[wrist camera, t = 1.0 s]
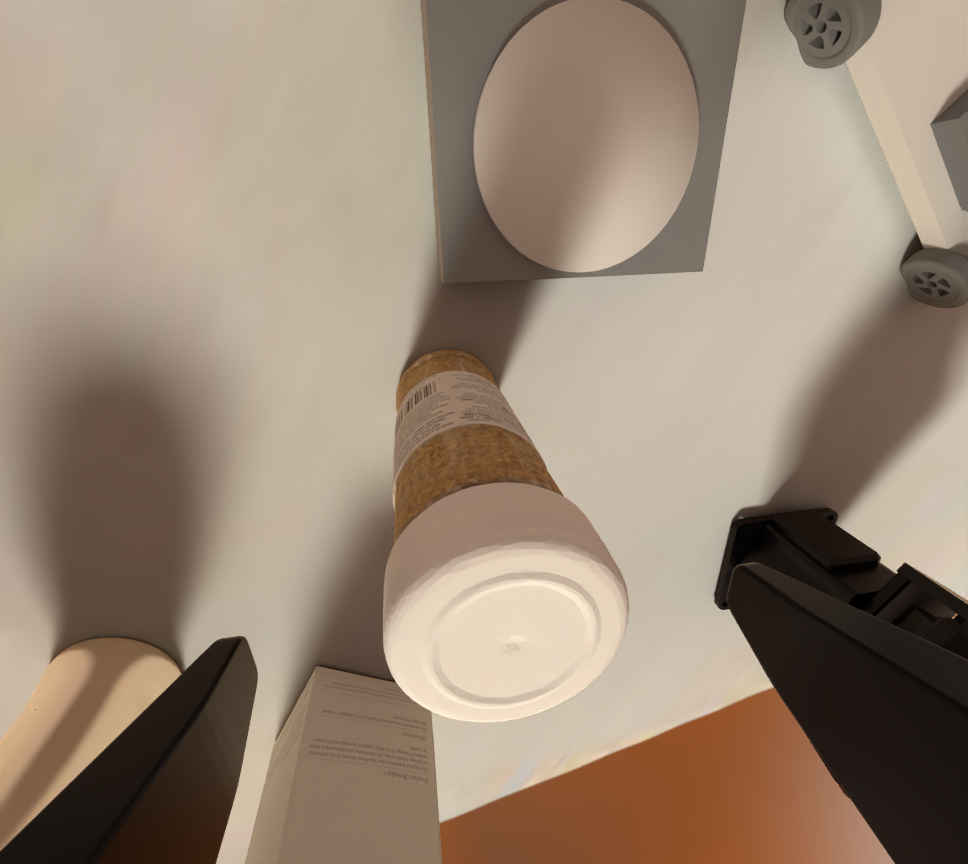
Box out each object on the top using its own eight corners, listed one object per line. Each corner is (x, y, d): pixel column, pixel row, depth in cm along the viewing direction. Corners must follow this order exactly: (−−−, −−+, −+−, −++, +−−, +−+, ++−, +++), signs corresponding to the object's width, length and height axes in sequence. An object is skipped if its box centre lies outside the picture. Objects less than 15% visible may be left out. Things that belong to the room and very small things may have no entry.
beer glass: (208, 645, 23) (-65, 1216, 10) (176, 731, 25) (-86, 1303, 12) (50, 615, 21) (-586, 1298, 8) (29, 713, 23) (-500, 1386, 10)
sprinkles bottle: (437, 460, 21) (482, 765, 9) (373, 387, 19) (319, 649, 7) (516, 404, 21) (677, 647, 8) (458, 323, 19) (558, 487, 7)
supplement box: (270, 744, 27) (172, 1117, 16) (317, 660, 25) (243, 1020, 14) (384, 762, 29) (371, 1097, 18) (435, 687, 27) (457, 1012, 16)
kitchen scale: (672, 267, 19) (709, 272, 17) (439, 278, 18) (444, 284, 16) (725, -131, 14) (787, -203, 12) (410, -157, 13) (411, -244, 11)
